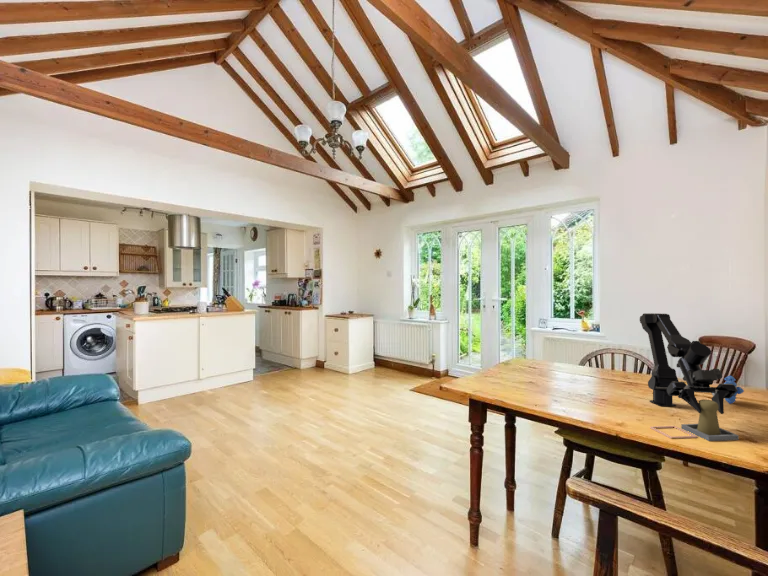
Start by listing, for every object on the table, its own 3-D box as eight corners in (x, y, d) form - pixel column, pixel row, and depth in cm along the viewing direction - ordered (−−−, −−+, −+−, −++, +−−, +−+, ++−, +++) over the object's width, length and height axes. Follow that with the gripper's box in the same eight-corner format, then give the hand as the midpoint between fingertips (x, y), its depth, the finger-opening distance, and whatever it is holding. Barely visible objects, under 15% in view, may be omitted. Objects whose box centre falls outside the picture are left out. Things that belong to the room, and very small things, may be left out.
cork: (703, 428, 127) (703, 396, 127) (724, 434, 121) (724, 402, 121) (692, 430, 125) (692, 399, 125) (713, 437, 119) (713, 404, 119)
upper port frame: (649, 428, 129) (649, 426, 129) (674, 427, 129) (674, 425, 129) (671, 438, 120) (671, 437, 120) (697, 437, 120) (697, 436, 120)
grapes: (746, 409, 146) (746, 379, 146) (723, 406, 150) (723, 377, 150) (742, 401, 155) (742, 373, 155) (720, 398, 159) (720, 371, 159)
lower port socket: (681, 428, 128) (681, 424, 128) (709, 427, 128) (709, 423, 128) (708, 441, 118) (708, 436, 118) (738, 439, 118) (738, 435, 118)
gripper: (670, 358, 129) (688, 399, 118) (733, 360, 124) (758, 403, 114) (659, 375, 137) (675, 415, 126) (718, 377, 132) (740, 419, 122)
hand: (711, 412), depth 122 cm, fingers open, 6 cm apart
